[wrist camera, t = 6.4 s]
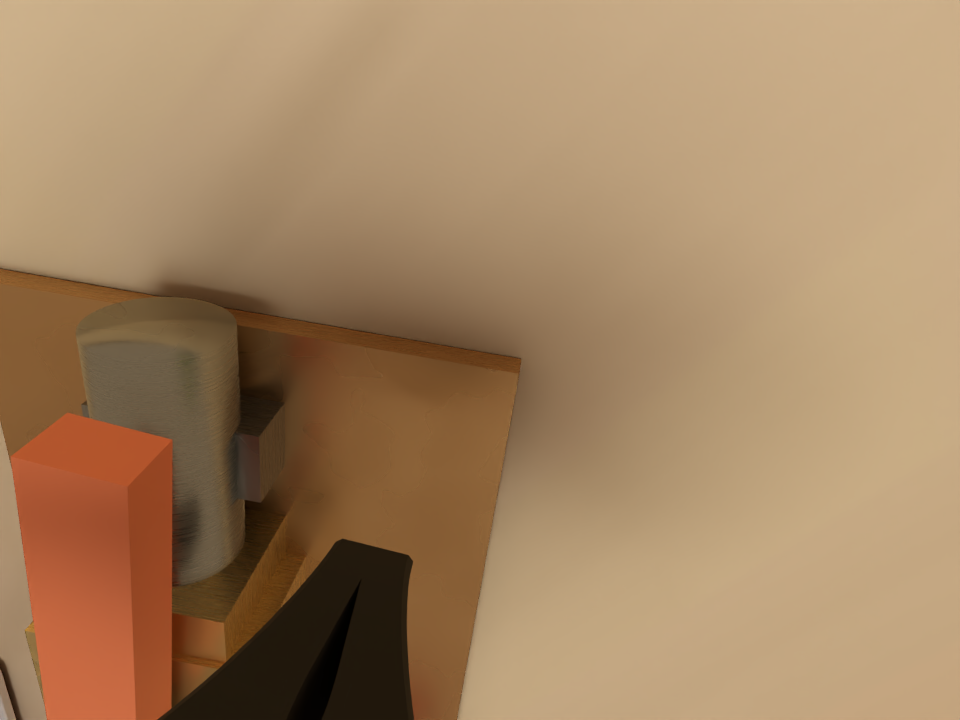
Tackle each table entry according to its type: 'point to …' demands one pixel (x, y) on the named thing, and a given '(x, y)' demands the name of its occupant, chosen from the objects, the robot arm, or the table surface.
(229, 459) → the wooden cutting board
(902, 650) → the table surface
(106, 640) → the lever
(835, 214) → the table surface
